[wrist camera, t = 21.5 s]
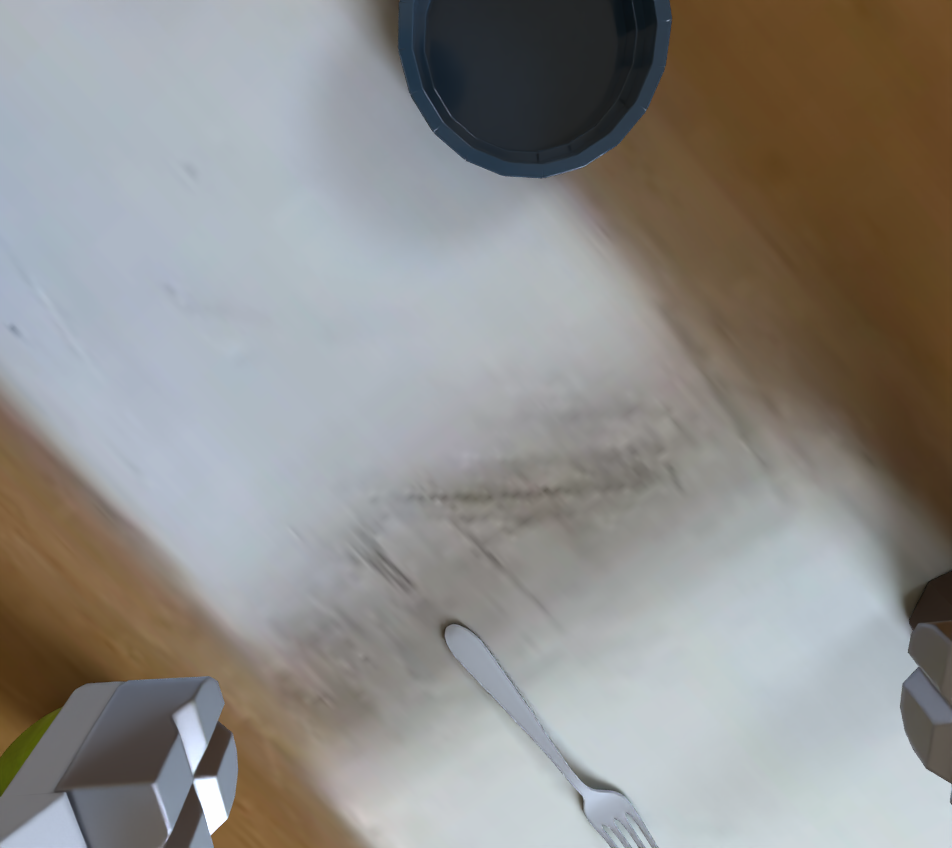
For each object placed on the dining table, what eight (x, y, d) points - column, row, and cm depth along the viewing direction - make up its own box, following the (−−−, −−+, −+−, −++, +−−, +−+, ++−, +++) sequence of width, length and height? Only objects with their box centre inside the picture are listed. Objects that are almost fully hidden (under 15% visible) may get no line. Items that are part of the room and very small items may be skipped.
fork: (470, 611, 46) (470, 630, 44) (669, 846, 53) (676, 870, 51) (427, 637, 46) (426, 656, 45) (630, 865, 54) (635, 889, 52)
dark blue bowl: (374, 118, 35) (362, 117, 31) (457, -142, 32) (455, -182, 27) (585, 205, 37) (600, 216, 33) (687, -33, 33) (719, -55, 29)
